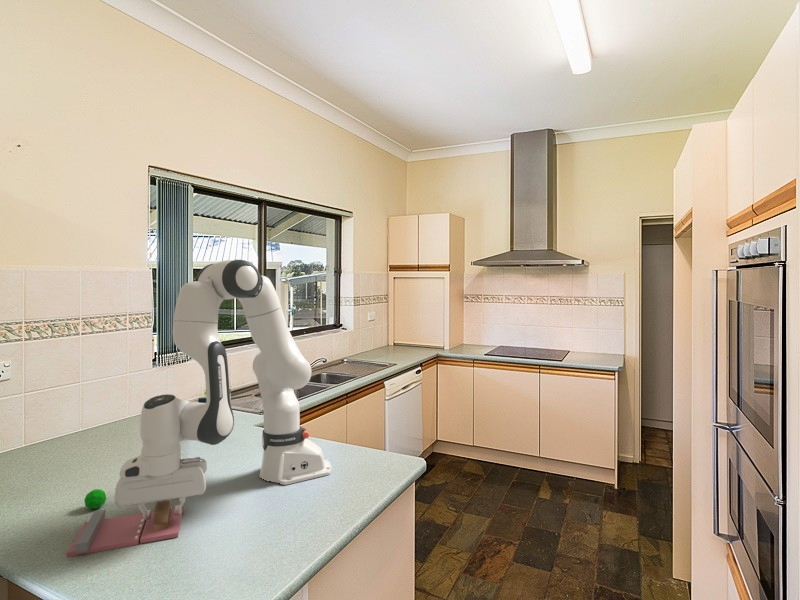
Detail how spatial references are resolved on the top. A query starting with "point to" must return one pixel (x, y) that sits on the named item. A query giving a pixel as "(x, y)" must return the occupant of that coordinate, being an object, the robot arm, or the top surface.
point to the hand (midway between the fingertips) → (163, 516)
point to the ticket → (107, 533)
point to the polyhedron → (95, 499)
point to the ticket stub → (162, 523)
